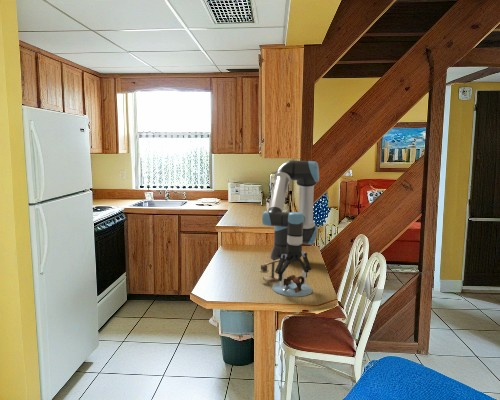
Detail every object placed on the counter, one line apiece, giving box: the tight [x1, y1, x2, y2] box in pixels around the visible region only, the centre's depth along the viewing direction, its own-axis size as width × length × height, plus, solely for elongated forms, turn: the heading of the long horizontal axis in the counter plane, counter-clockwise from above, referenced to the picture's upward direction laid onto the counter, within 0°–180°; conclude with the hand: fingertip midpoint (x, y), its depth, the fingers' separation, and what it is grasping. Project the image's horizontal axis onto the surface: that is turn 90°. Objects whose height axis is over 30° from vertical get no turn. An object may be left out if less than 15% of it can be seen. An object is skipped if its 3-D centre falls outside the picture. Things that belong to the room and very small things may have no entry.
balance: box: [258, 259, 285, 283], centre depth 218 cm, size 16×5×11 cm, turn 114°
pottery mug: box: [284, 274, 304, 293], centre depth 205 cm, size 12×10×8 cm
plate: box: [272, 281, 313, 298], centre depth 206 cm, size 20×20×1 cm
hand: (292, 285), depth 205 cm, fingers closed on pottery mug, 12 cm apart
